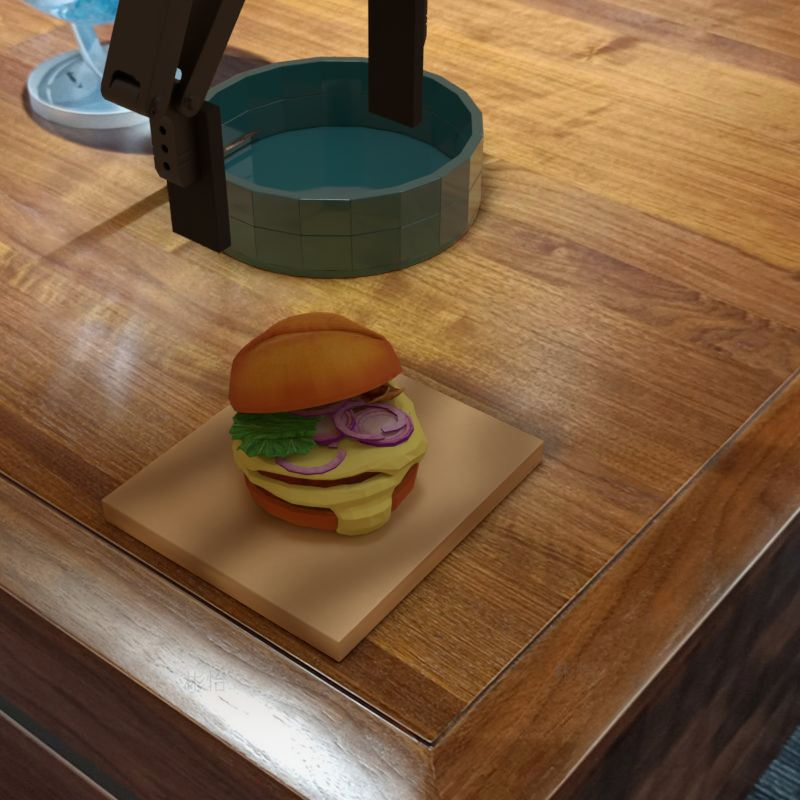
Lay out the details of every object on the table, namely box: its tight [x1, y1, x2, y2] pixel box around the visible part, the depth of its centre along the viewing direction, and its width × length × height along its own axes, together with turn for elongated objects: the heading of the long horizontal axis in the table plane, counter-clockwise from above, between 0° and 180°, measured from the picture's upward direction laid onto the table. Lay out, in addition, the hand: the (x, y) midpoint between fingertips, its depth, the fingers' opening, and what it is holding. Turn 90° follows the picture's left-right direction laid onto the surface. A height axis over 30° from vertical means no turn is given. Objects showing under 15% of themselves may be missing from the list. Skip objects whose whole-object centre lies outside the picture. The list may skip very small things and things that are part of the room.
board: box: [101, 373, 545, 663], centre depth 73 cm, size 16×18×2 cm
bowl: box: [205, 56, 485, 279], centre depth 95 cm, size 21×21×6 cm
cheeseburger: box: [228, 311, 428, 536], centre depth 70 cm, size 10×11×10 cm
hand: (305, 174), depth 62 cm, fingers open, 13 cm apart
